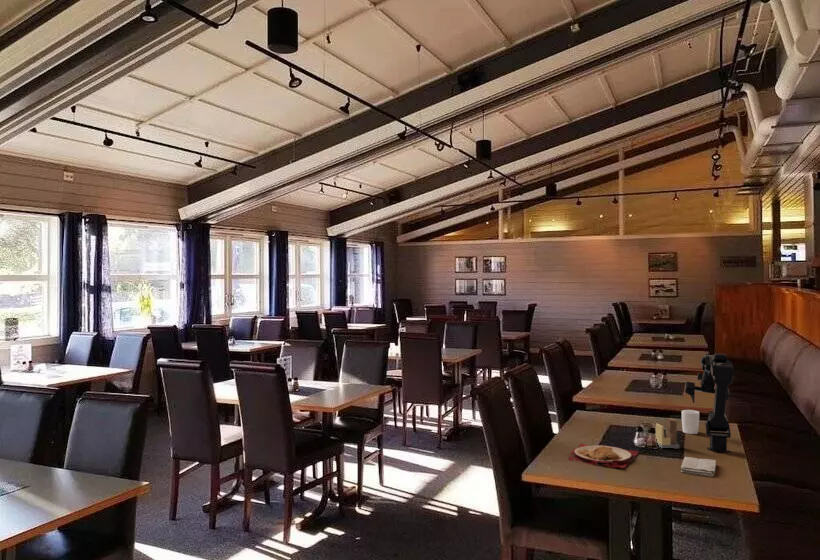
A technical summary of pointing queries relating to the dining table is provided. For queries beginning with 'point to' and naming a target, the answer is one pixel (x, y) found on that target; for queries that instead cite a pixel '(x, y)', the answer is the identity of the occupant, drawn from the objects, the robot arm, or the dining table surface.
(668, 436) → the block
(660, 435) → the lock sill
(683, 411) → the white cup
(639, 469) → the dining table surface
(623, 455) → the plate with food
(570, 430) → the dining table surface
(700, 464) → the washcloth
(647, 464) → the dining table surface
